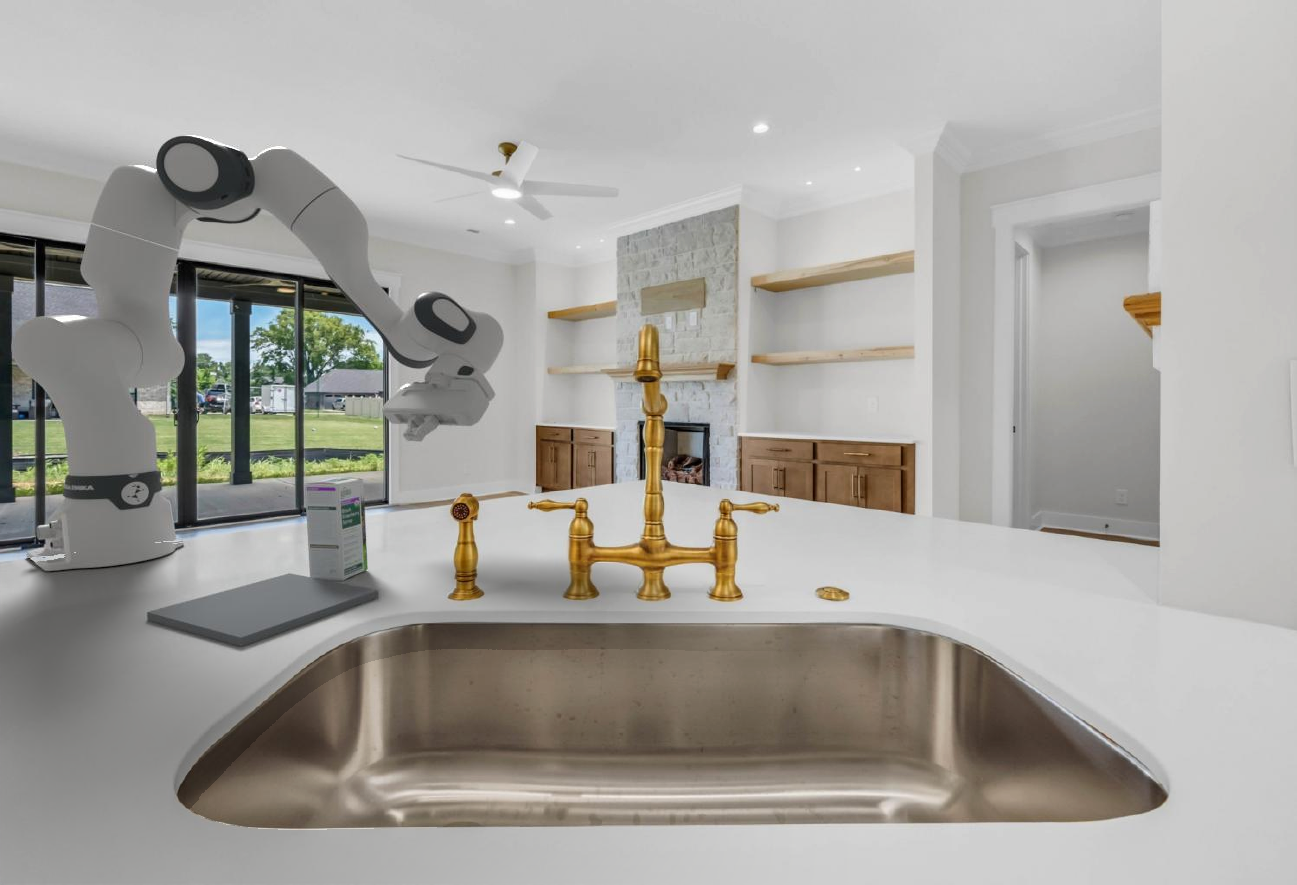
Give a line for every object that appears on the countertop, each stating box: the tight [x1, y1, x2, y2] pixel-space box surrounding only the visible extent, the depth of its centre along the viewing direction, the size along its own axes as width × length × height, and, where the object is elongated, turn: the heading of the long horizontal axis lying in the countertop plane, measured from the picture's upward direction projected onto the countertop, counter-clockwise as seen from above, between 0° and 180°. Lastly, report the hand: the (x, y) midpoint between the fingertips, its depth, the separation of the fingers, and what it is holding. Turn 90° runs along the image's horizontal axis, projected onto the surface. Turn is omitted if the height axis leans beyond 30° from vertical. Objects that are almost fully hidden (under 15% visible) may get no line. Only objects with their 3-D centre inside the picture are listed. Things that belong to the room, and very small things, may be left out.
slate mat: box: [146, 572, 379, 648], centre depth 78 cm, size 18×18×1 cm
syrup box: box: [304, 476, 369, 582], centre depth 92 cm, size 6×6×14 cm
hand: (411, 439), depth 105 cm, fingers closed
